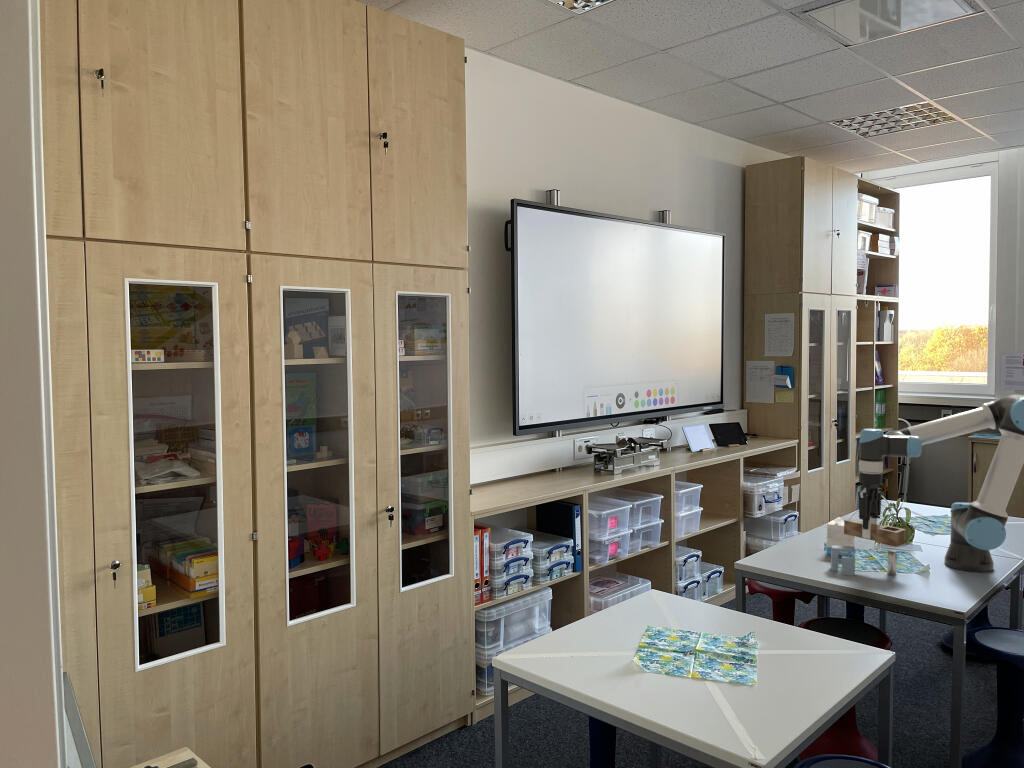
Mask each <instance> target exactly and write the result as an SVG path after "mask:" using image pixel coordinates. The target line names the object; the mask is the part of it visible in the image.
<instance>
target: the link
mask: <svg viewBox="0 0 1024 768" xmlns="http://www.w3.org/2000/svg"><path fill="white" fill-rule="evenodd" d="M843 521H844V534H847V535H851V536H855V538H861V539H865V540H870V541H874V542H875V543H876V544H882V545H884V546H885V545H887V546H890V547H895V548H897V547H901V546H903V545H905V544H906V543H907V542H906V541H907V528H902V527H901V528H900V527H896V526H892V525H881V524H877V525H876V524H871V539H868V538H863V537H862V526H863V520H861V521H860V520H856V519H852V518H848V519H845V520H843Z"/></svg>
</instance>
